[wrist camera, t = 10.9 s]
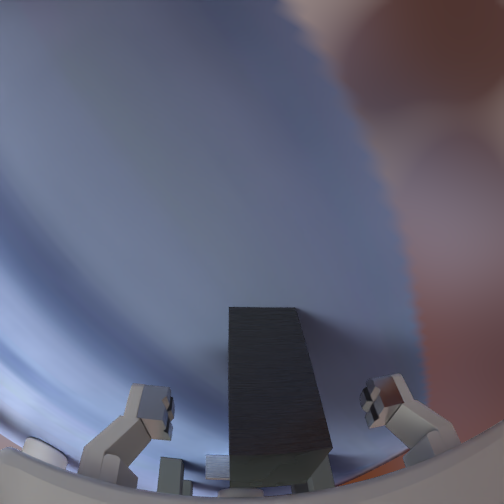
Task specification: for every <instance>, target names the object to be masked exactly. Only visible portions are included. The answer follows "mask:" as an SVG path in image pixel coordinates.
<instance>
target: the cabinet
mask: <svg viewBox="0 0 504 504" xmlns="http://www.w3.org/2000/svg"><path fill="white" fill-rule="evenodd" d="M183 477H184V464H183V462H182V459H173V458H164V457H161V460H160V469H159V478H158V488H157V492H160V493H168V494H176V495H187V496H192V494H193V484H192V482H191V481H187V480H183ZM333 487H335V485H334V480H333V476H332V471H331V467H330V462H329V458H328V455H327V456H326V458H325V459H324V460H323V462H322V463H321V464H320V465H319V467H318V468H317V469H316V470H315V472H314V473H313V474H312V475H311V477H310V478H309V479H308V480H307V482H306V483H304V484H296V485H291V488H292V494H296V493H304V492H311V491H317V490H323V489H328V488H333Z"/></svg>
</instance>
